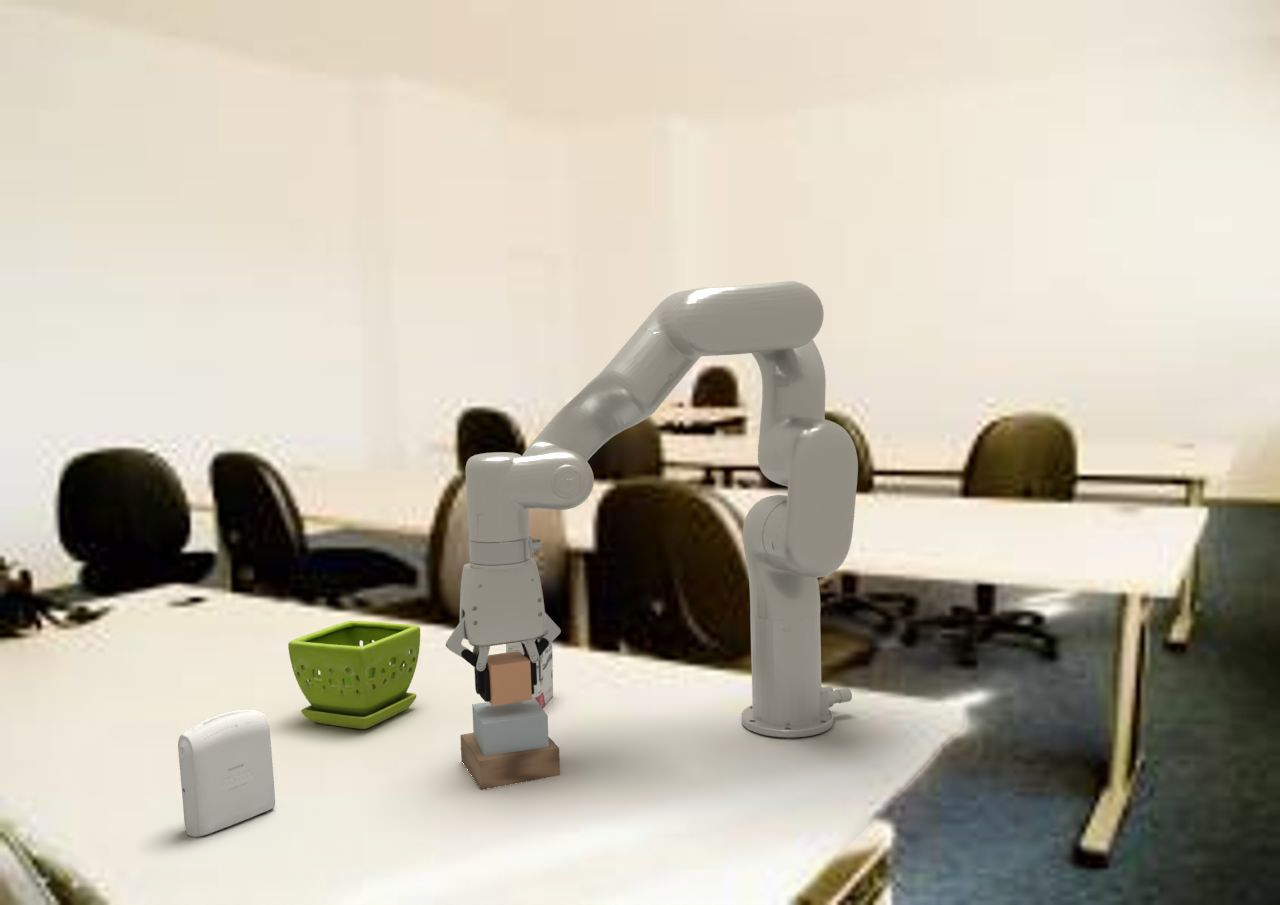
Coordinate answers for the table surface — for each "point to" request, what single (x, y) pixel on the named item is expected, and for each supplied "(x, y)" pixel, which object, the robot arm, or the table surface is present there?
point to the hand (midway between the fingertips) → (506, 693)
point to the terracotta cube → (509, 678)
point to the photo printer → (226, 771)
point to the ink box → (540, 673)
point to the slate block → (510, 727)
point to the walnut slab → (508, 764)
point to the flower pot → (356, 672)
